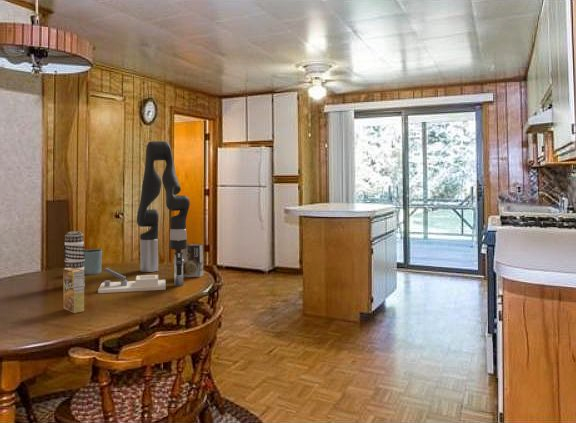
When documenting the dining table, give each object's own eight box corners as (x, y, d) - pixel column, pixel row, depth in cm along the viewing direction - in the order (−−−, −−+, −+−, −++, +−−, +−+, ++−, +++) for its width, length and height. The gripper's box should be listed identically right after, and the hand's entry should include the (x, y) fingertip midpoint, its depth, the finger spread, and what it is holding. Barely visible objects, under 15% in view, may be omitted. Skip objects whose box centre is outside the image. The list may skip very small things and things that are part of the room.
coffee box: (203, 274, 238) (203, 244, 237) (200, 277, 232) (200, 245, 231) (186, 274, 239) (186, 243, 238) (182, 277, 233) (182, 245, 232)
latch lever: (104, 269, 206) (106, 267, 206) (124, 279, 208) (126, 276, 208) (103, 271, 202) (105, 268, 202) (124, 281, 205) (125, 278, 205)
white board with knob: (102, 285, 211) (102, 276, 211) (165, 282, 219) (165, 273, 218) (98, 293, 197) (97, 282, 197) (165, 289, 204) (165, 279, 204)
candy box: (62, 309, 171) (62, 268, 170) (74, 307, 174) (73, 267, 174) (73, 313, 166) (73, 271, 165) (85, 311, 169) (84, 269, 168)
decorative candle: (59, 287, 208) (57, 232, 206) (75, 283, 216) (74, 230, 215) (74, 289, 205) (73, 233, 203) (90, 284, 213) (89, 231, 212)
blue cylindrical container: (106, 272, 244) (106, 250, 243) (89, 275, 235) (88, 252, 234) (94, 270, 249) (94, 248, 248) (77, 273, 241) (77, 250, 240)
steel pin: (172, 284, 215) (172, 259, 214) (184, 283, 216) (184, 258, 216) (173, 286, 210) (172, 260, 209) (184, 286, 211) (184, 260, 211)
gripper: (169, 237, 218) (170, 271, 218) (170, 240, 204) (170, 276, 205) (185, 236, 220) (186, 270, 220) (187, 240, 206) (187, 275, 207)
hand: (178, 273), depth 213 cm, fingers open, 8 cm apart
